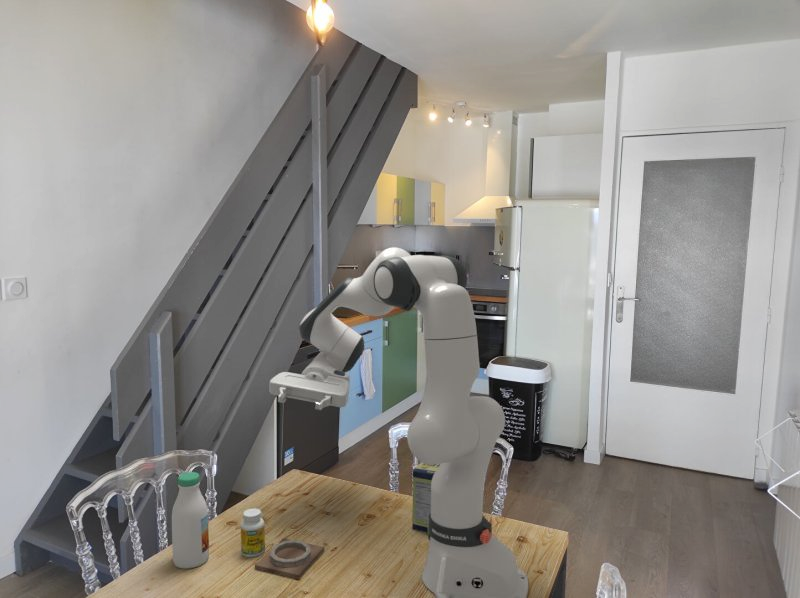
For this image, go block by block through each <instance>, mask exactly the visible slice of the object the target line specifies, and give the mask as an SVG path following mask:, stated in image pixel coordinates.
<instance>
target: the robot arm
mask: <svg viewBox="0 0 800 598" xmlns="http://www.w3.org/2000/svg"><path fill="white" fill-rule="evenodd" d="M467 279H468V276H467V271H466V269H465V267H464V264H463V263H462V262H461V261H460V260H459V259H457V258H455V257H452V256H450V255H449V256H448V255H424V254H414V255H411V253H409V252H408V251H407V250H405V249H403V248H400V247H395V246H394V247H388V248H386V249H384V250H383V251H382V252H380V253H379V254H378V255H377V256H376V257H375V258H374V259H373V260H372V261H371V263H370V264H369V265H368V267H367V268H366V270H365V271H364V272H363V274H362V275H361V276H359V277H356V278H355V277H354V278H353V277H347V278H345V279H344V280H342V281H341V282H340V283H339V284H338V285H337V286H336V287H335V288H333V289H332V291H330V292H329V294H328V295H326V297H325V298H324V299H323V300H322V301H320V303H319V304H318V305H317V306H316V307H314V308H313V309H311V310H310V311H309V312H308V313H306V315H305V316H304V317H303V318H302V319H301V321H300V323H299V326H298V331H299V334H300V337H301V339H302V340H303V341H305V342H306V343H308V344H310V345H312V346H314V347H315V348H316V349H318V350H319V351H320V352H319V353H318V354H317V355H316V356H315V357H314V358H313V359H312V361H311V362H310V363H309V364H308V365H307V366H306V367H305V368H304V370H302V372H301V374H300V373H295V372H289V371H281V372H280V373H278V374H276V375H275V376H273V377H272V378H271V379H270V380H269V384H268V391H269V393H270V394H271V395H273V396H278V397H277V402H278V403H282V404H284V403H285V402H287V398H289V399H294V400H299V401H300V400H301V401H304V402H310V403H315V407H314V410H317V411H322V410H323V408H326V407H330V406H332V407H337V408H345V407H346V406H347V404H348V401H349V394H350V383H351V380H350V379H351V377H350V374H348V372H350V371H351V370H352V369H353V368H354V367H355V365H356V363H357V362H358V361H359V359H360V358H361V356H362V354H363V353H364V350H365V340H364V337H363V336H362V335H361V334H360V333H358V332H357V331H356V330H355V329H353V328H351V327H350V326H348V325H347V324H345V322H343V321H341V320H340V319H338V317H336V316H334V314H333V312H334V311H336V310H337V309H338V308H341V307H342V308H347V309H350V310H352V311H355V312H359V313H360V314H362V315H365V316H369V317H380V316H385V315H387V314H389V313H390V312H392V311H393V310H394V309H395V308H399V309H401V310H403V311H404V312H405V311H406V312H410V311H411V310H412V308H415V309H417V310H418V311H419V313H420V314H421V317H422V322H423V338H424V340H423V341H424V351H425V352H424V353H425V354H424V355H425V367H426V368H425V369H426V371H425V372H426V373H425V383H424V389H423V390H424V391H423V394H422V397H421V402H420V406H419V408H418V410H417V413H416V415H415V416H414V418H413V419H412V421H411V422H410V424H409V426H408V429H407V434H406V435H407V436H406V437H407V438H406V439H407V444H408V447H409V449H410V452H411V454H412V455H413V456H414V457H415V458H416V460H418V461H419V462H420V463H421V462H422V463H424V464H428V465H432V464H440V466H439V467H438V469H437V470H436V472H435V473H434V475H433V478H432V481H431V513H430V514H429V518H428V532H427V535H428V536H427V537H428V539H427V540H428V549H427V556H426V560H425V564H424V568H423V571H422V573H421V574H422V575H421V579H422V582H423V584H424V586H425V587H426V588H427V589H428V590H429V591H431V592H432V593H433V594H434V595H435V598H527V597H528V594H529V580H528V579H529V578H528V575H527V574H526V572H525V571H524V570H522V569H520V568H518V563H517V559H516V556H515V554H514V552H513V550H511V549H510V548H509V547H508V546H507V545H505V544H504V543H503V542H502V541H500V540H499V539H498V538H497V537H496V536H494V535H493V518H492V517H491V518H490V519H489V521H488V519H487V518H486V517H485V516H484V514H483V513H484V512H483V508H484V488H485V480H486V476H487V471H488V469H489V465H490V461H491V457H492V454H493V451H494V449H495V446H496V443H497V441H498V440H499V437H500V436H501V435H502V433H503V431H504V428H505V426H506V416H505V412H504V410H503V407H502V406H501V405H500V403H499V402H497V401H496V400H495V399H494V398H492V397H490V396H483V395H479V396H477V395H475V396H474V395H473V396H471V392H472V388H473V385H474V383H475V381H476V380H477V378H478V376H479V373H480V371H481V370H480V368H481V365H480V357H479V356H480V355H479V345H478V344H479V342H478V333H477V332H478V331H477V325H476V324H477V323H476V317H475V311H474V308H473V304H472V299H471V297H470V294H469V292H468V290H467V289H466V288H467V281H468V280H467Z"/></svg>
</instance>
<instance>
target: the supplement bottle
mask: <svg viewBox="0 0 800 598" xmlns="http://www.w3.org/2000/svg"><path fill="white" fill-rule="evenodd" d="M242 515H243V516H242V518H243V520H242V521H241V522H240V548H241V550H240V551H241V554H242V555H243V556H244V557H247V558H253V557H254V558H255V557H258V556H260V555H262V554H263V553H264V552H265V550H266V542H265V539H266V538H265V537H266V536H265V534H266V533H265V520H264V519H263V518H262V511H261V509H259V508H249V509H246V510H244V511H243V514H242Z"/></svg>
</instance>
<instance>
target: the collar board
mask: <svg viewBox="0 0 800 598" xmlns="http://www.w3.org/2000/svg"><path fill="white" fill-rule="evenodd" d="M324 552H325V546H321V545H316V544H312V543H308V542H306V541H303V540H298V539H289V538H285V537H283V538H282V539H281V540H280V541H278V542H277V543H276V544H275V545H274V546H272V548H270V550H269V551H268V552H267V553H266V554H265V555H264V556H263V557H261V558H260V559H259V560H258V561H257V562H256V563H255V564H254V570H257V571H261V572H266V573H270V574H273V575H277V576H282V577H287V578H291V579H296V580H300V579H301V577H303V575H305V573H306V572H307V571H308V570H309V569H310V567H311V566H312V565H313V564H315V562H316V561H317V560H318V559H319V558H320V557H321V556H322V554H323V553H324ZM299 578H300V579H299Z"/></svg>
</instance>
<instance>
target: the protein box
mask: <svg viewBox="0 0 800 598" xmlns="http://www.w3.org/2000/svg"><path fill="white" fill-rule="evenodd" d="M439 466H440V464H432V465H428V464H424V463H422V462H420V463H419V464H418V465H416V467H415V468H414V469H413V470H412V507H411V508H412V511H411V512H412V513H411V514H412V518H411V519H412V520H411V523H412V526H411V528H412V530H416V531H419V532H425V533H428V518H429V514H430V513H431V481H432V478H433V475H434V473H435V472H436V470H437V469H438V467H439Z"/></svg>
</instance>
